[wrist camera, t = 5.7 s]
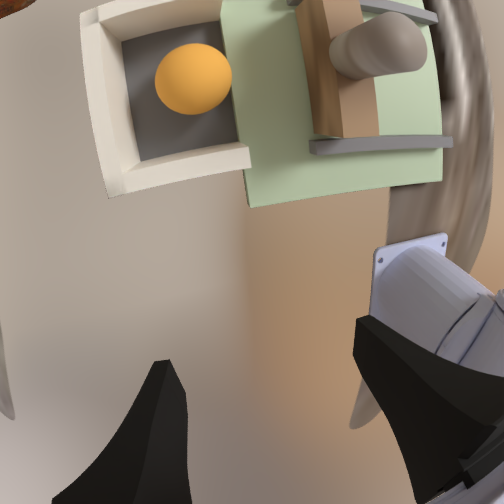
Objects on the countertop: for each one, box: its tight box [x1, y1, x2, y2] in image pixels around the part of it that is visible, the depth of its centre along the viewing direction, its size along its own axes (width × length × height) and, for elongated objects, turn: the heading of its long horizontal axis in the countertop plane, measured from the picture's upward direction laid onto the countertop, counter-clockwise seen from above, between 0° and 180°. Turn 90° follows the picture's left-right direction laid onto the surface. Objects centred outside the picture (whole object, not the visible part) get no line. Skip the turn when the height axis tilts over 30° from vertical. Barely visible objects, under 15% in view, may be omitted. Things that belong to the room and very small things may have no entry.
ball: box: [155, 43, 232, 115], centre depth 13 cm, size 4×4×4 cm
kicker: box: [295, 0, 427, 138], centre depth 11 cm, size 8×2×8 cm, turn 8°
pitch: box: [80, 0, 453, 208], centre depth 14 cm, size 16×22×4 cm
